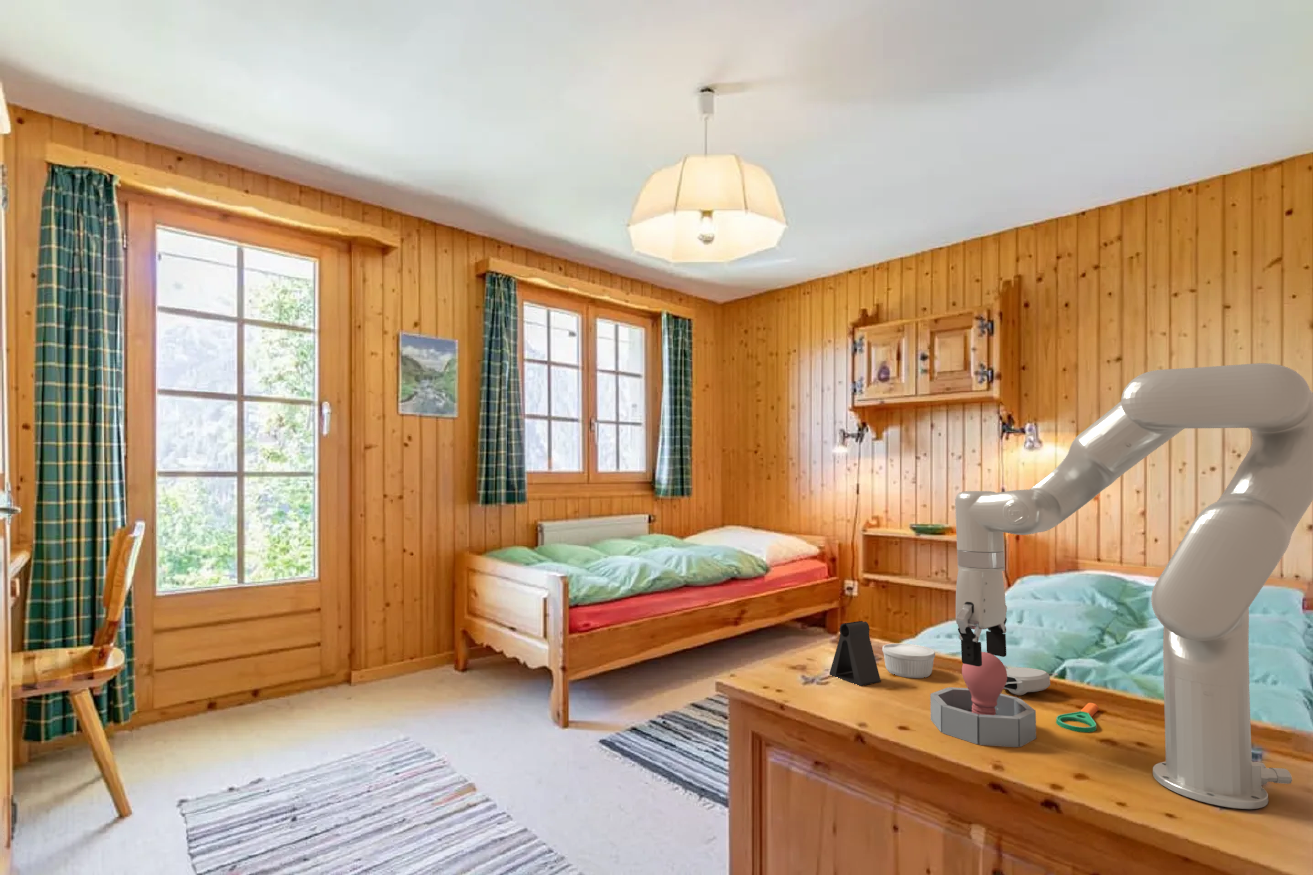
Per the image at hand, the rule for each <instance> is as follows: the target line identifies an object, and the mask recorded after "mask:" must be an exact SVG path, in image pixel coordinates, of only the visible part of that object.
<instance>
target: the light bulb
mask: <svg viewBox="0 0 1313 875" xmlns="http://www.w3.org/2000/svg"><path fill="white" fill-rule="evenodd" d="M1004 665H1005V664H1004V663H1003V662H1002V660H1001V659H1000V658H998V656H996V655H992V654H990V653H987V651H982V665H981V666H979V667H978V666H973V665H968V664H964V663H962V667H961V675H962V679H963V681H964V683H965V685H966V688H968V689H969V691H970V693H971V696H972V698H971V700H972V702H973V704H972V713H976V714H982V715H995V714H996V712H995V711H996V709H995V708H994V707H995V706H996V705H997V699H998V697H999V695H1000V694H1002V692H1003V690H1004V686H1005V684H1006V681H1007V671H1006V668H1005V666H1006V665H1005V666H1004Z"/></svg>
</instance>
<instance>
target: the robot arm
mask: <svg viewBox="0 0 1313 875" xmlns="http://www.w3.org/2000/svg"><path fill="white" fill-rule="evenodd" d="M1184 429H1249V430H1250V431H1251V438H1252V441H1251V446H1250V448H1249V450H1247V453H1246V455H1245V456H1244V458H1243V459H1242V461H1241V462H1240V464H1239V465H1238V468H1237V469H1236V471H1235V473H1234V475H1233V477H1232V479H1231V480H1230V482H1229V483H1228V485H1227V487H1226V488H1225V490H1224V491H1223V493H1222V494H1221V495H1220V497H1219V498H1218V500H1217V501H1215V502H1213V503H1211V504H1210V505H1208V506H1206V507H1205V508H1203V510H1201V512H1199V514H1198V515H1197V516H1196V517H1195V519H1194V520H1193V522H1192V523H1191V524H1190V526H1189V528H1188V529H1187V531H1186V533H1185V534H1184V536H1183V538H1181V540H1180V543H1179V545H1178V547H1177V548H1176V550H1175V551H1174V552H1173V555H1172V556H1171V557H1170V559H1169V560H1168V562H1167V564H1166V566H1165V567H1164V569H1163V570H1162V573H1161V574H1160V575H1159V577H1158V579H1157V581H1156V582H1155V584H1154V586H1153V589H1152V592H1151V598H1150V599H1151V601H1150V602H1151V607H1152V611H1153V613H1154V615H1155V617H1156V618H1157V620H1158V621H1159V622H1160V624H1161V625H1162V626H1163V640H1162V642H1163V643H1162V645H1163V646H1162V655H1163V656H1162V657H1163V658H1162V660H1163V663H1162V664H1163V665H1162V666H1163V698H1164V699H1163V700H1164V702H1163V704H1164V706H1163V707H1164V708H1163V709H1164V737H1165V738H1164V742H1165V747H1164V748H1165V761H1162V762H1161V761H1160V762H1158V763H1156V764H1154V765H1153V766H1152V775H1153V779H1155V780H1156V781H1157V782H1158V783H1159V784H1160V785H1161V786H1164V787H1165V788H1166V789H1169V790H1170V791H1172V792H1174V793H1177V794H1179V795H1182V796H1184V797H1186V798H1190V799H1192V800H1194V801H1195V800H1196V801H1199V802H1203V803H1206V804H1210V805H1212V806H1213V805H1214V806H1218V807H1223V808H1224V807H1225V808H1229V809H1230V808H1231V809H1237V810H1238V809H1239V810H1255V809H1257V810H1258V809H1261V808H1264V807H1266V806H1267V805H1268V803H1269V793H1268V792H1267V790H1266V789H1265V788H1264V787H1262V785H1267V784H1268V783H1274V784H1284V785H1285V784H1287V785H1290V784H1291V783H1292V782H1293V776H1292V774H1291V772H1290V771H1289V770H1288V769H1287V768H1282V767H1281V768H1279V767H1267V766H1266V765H1265V763H1263V762H1257V761H1253V760H1252V758H1253V756H1252V733H1251V732H1252V731H1251V730H1252V727H1251V702H1250V698H1251V697H1250V656H1249V653H1250V652H1249V651H1250V648H1249V646H1250V645H1249V642H1250V641H1249V638H1250V636H1249V634H1250V633H1249V632H1250V631H1249V630H1250V627H1249V626H1250V607H1251V605H1252V604H1253V602H1254V601H1255V599H1256V598H1257V596H1258V595H1259V593H1260V592H1261V590H1262V588H1263V587H1264V586H1265V584H1266V582H1267V581H1268V580H1269V578H1270V576H1271V575H1272V574H1273V572H1274V570H1275V569H1276V567H1277V566H1278V565H1279V562H1281V560H1282V558H1283V556H1284V554H1285V553H1286V551H1287V550H1288V548H1289V546H1290V542H1291V539H1292V538H1291V537H1292V535H1293V533H1294V531H1295V529H1296V527H1297V526H1298V525H1299V523H1300V521H1301V519H1302V518H1303V516H1304V515H1305V513H1306V512H1307V511H1308V508H1309V507H1310V506H1311V503H1312V502H1313V391H1312V390H1311V389H1310V386H1309V384H1308V382H1307V381H1306V379H1305V378H1304V376H1302V375H1301V374H1300V373H1299V372H1297V371H1295V370H1294V369H1292V368H1290V367H1287V366H1284V365H1281V364H1275V363H1264V362H1262V363H1260V362H1259V363H1257V362H1256V363H1245V364H1244V363H1243V364H1230V365H1215V366H1202V367H1201V366H1200V367H1184V368H1182V367H1181V368H1167V369H1155V370H1151V371H1150V370H1149V371H1147V372H1143V373H1142V374H1139V375H1138V376H1136V377H1134V378H1132V379H1131V380H1130V381H1129V383H1127V385H1126V386H1125V387H1124V389H1123V391H1122V394H1121V399H1120V401H1119V402H1118V403H1116V405H1115V406H1113V407H1112V408H1111V409H1110V410H1108V411H1107V412H1106V413H1105V414H1103V415H1102V416H1101V417H1099V418H1098V419H1097V420H1096V421H1094V422H1093V423H1091V425H1089V426H1088V427H1087V428H1085V429H1084V430H1083V431H1082V432H1080V433H1079V434H1078V435H1077V436H1076V437H1075V438H1074V439H1073V441H1072V442H1071V444H1070V447H1069V449H1068V452H1067V454H1066V456H1065V457H1064V459H1063V460H1062V461H1061V463H1060V464H1059V465H1058V466H1057V467H1056V468H1054V469H1053V470H1052V471H1051V472H1050V473H1048V474H1047V475H1046V476H1045V477H1044V478H1043V479H1041V480H1040V481H1039V482H1037V483H1035V485H1034V486H1032V487H1031V488H1029V489H1014V490H1006V491H999V492H995V491H990V490H967V491H961V492H958V493H957V494H956V496H955V499H954V500H955V503H954V505H955V506H954V507H955V509H954V510H955V530H956V531H955V533H956V558H957V559H956V560H957V578H956V584H955V585H956V586H955V588H956V589H955V622H956V624H957V627H958V628H957V631H958V633H959V640H960V645H961V646H960V647H961V648H960V650H961V662H962V664H963V663H964V664H968V665H973V666H978V667H979V666H981V665H982V652H983V651H982V642H981V641H979V640H980V637H981V633H982V631H983V630H986V629H987V630H986V632H985V638H986V640H985V641H986V652H987V653H990V654H992V655H994V656H996V657H1002V658H1004V657H1007V634H1006V633H1007V627H1006V623H1007V621H1008V620H1007V617H1006V616H1007V612H1008V611H1007V610H1008V606H1007V605H1006V604H1007V603H1006V593H1005V584H1004V577H1003V572H1005V571H1006V565H1005V564H1006V563H1005V541H1004V540H1005V539H1004V533H1006V534H1011V535H1019V536H1026V535H1027V536H1028V535H1033V534H1037V533H1043V532H1047V531H1050V530H1052V529H1053V528H1055V527H1056V526H1058V525H1059V524H1061V523H1062V522H1064V521H1065V520H1066V519H1068V518H1070V516H1072V515H1074V514H1075V513H1076V512H1078V511H1079V510H1080V509H1081V508H1083V507H1084V506H1086V505H1087V504H1088V503H1089V502H1090V501H1092V500H1093V499H1094V498H1095V497H1096V496H1097V495H1099V494H1100V493H1101V492H1103V491H1104V490H1105V489H1107V488H1108V487H1109V486H1111V485H1112V484H1113V483H1114V482H1116V481H1117V480H1118V479H1119V478H1120V477H1121V476H1123V475H1124V474H1125V473H1126V472H1128V471H1129V470H1131V469H1132V468H1133V467H1135V465H1137V464H1139V462H1142V460H1143V459H1145V458H1147V456H1149V455H1150V454H1151V453H1153V452H1154V451H1156V450H1157V449H1159V448H1161V446H1163V445H1164V444H1166V443H1167V442H1168V441H1169V440H1172V438H1174V437H1175V436H1177V435H1178V434H1179V433H1180V432H1182V431H1184ZM973 630H974V632H973Z"/></svg>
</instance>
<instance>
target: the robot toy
mask: <svg viewBox="0 0 1313 875" xmlns="http://www.w3.org/2000/svg"><path fill="white" fill-rule="evenodd" d="M1003 665H1004V666H1005V668H1006V671H1007V681H1006V684H1005V686H1004V688H1003V690H1004V689H1005V690H1008V691H1009V692H1010V693H1011V694H1012V695H1015V696H1024V695H1026V694H1027V693H1037V692H1039V691H1045V690H1047V688H1049V687H1050V686H1051V678H1050V676H1058V675H1059V674H1058V673H1056V672H1054V673H1048V672H1046V671H1045V670H1042V669H1037V668H1031V667H1008V666H1006V665H1005V664H1003Z"/></svg>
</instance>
